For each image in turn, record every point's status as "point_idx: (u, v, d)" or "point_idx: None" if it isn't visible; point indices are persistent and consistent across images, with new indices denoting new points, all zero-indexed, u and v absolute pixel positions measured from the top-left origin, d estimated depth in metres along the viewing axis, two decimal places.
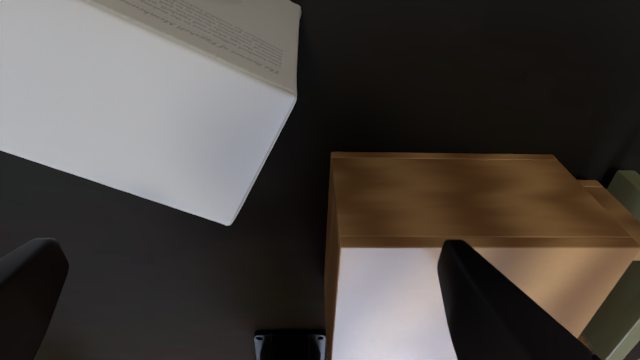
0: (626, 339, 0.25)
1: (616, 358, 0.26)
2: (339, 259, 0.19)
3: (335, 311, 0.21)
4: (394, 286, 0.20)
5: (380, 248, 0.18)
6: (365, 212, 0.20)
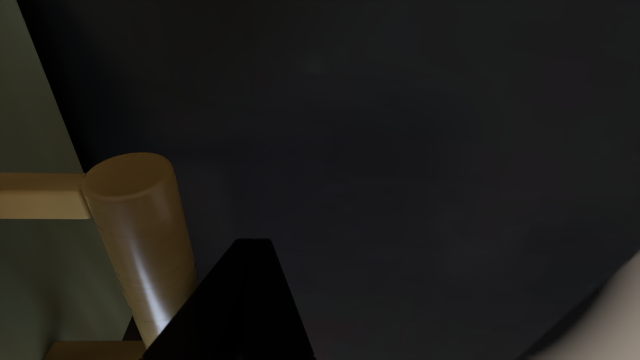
0: None
1: None
2: None
3: None
4: None
5: None
6: None
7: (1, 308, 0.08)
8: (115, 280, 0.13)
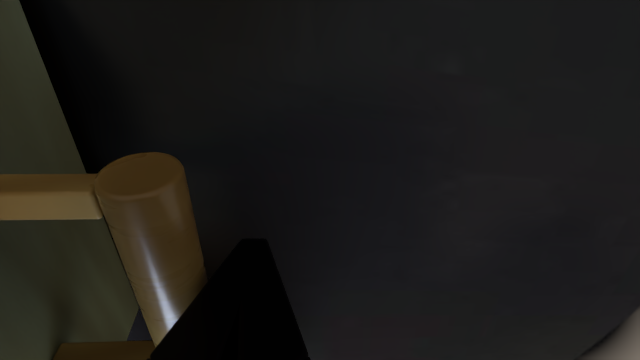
0: None
1: None
2: None
3: None
4: None
5: None
6: None
7: (10, 310, 0.08)
8: (118, 281, 0.13)
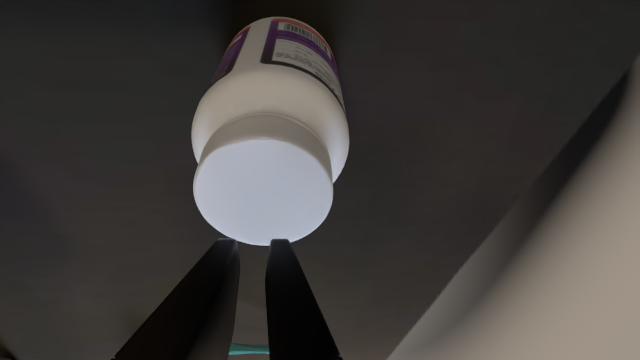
0: None
1: None
2: None
3: None
4: None
5: None
6: None
7: None
8: None
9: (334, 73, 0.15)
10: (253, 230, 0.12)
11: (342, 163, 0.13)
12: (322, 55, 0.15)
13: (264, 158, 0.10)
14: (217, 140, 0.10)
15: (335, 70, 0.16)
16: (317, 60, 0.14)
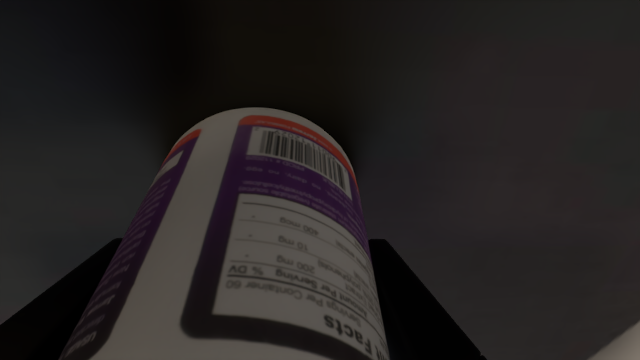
0: None
1: None
2: None
3: None
4: None
5: None
6: None
7: None
8: None
9: (361, 247, 0.07)
10: None
11: None
12: (337, 211, 0.07)
13: None
14: None
15: (360, 225, 0.08)
16: (327, 246, 0.06)
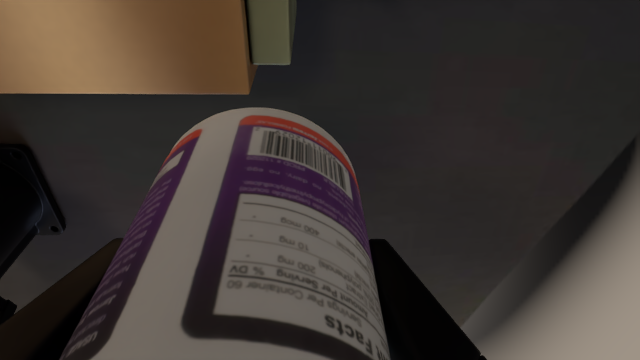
0: None
1: (270, 42, 0.12)
2: None
3: None
4: None
5: None
6: None
7: None
8: None
9: (362, 247, 0.07)
10: None
11: None
12: (337, 211, 0.07)
13: None
14: None
15: (361, 225, 0.08)
16: (329, 247, 0.06)
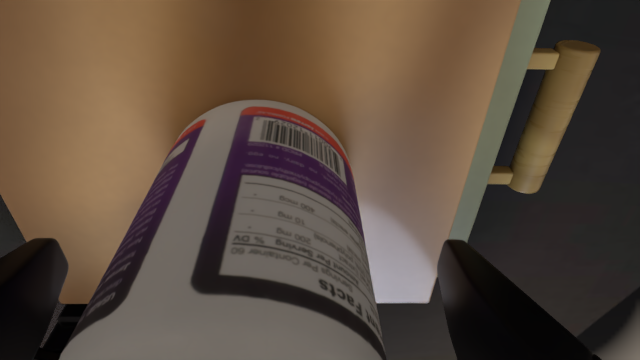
0: None
1: None
2: None
3: None
4: (45, 58, 0.10)
5: None
6: None
7: None
8: None
9: (354, 226, 0.08)
10: None
11: None
12: (332, 193, 0.08)
13: None
14: None
15: (354, 207, 0.09)
16: (323, 222, 0.07)
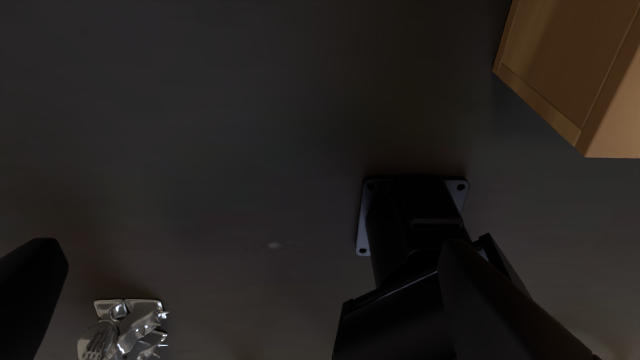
0: None
1: None
2: None
3: None
4: None
5: None
6: None
7: None
8: None
9: None
10: None
11: None
12: None
13: None
14: None
15: None
16: None
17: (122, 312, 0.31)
